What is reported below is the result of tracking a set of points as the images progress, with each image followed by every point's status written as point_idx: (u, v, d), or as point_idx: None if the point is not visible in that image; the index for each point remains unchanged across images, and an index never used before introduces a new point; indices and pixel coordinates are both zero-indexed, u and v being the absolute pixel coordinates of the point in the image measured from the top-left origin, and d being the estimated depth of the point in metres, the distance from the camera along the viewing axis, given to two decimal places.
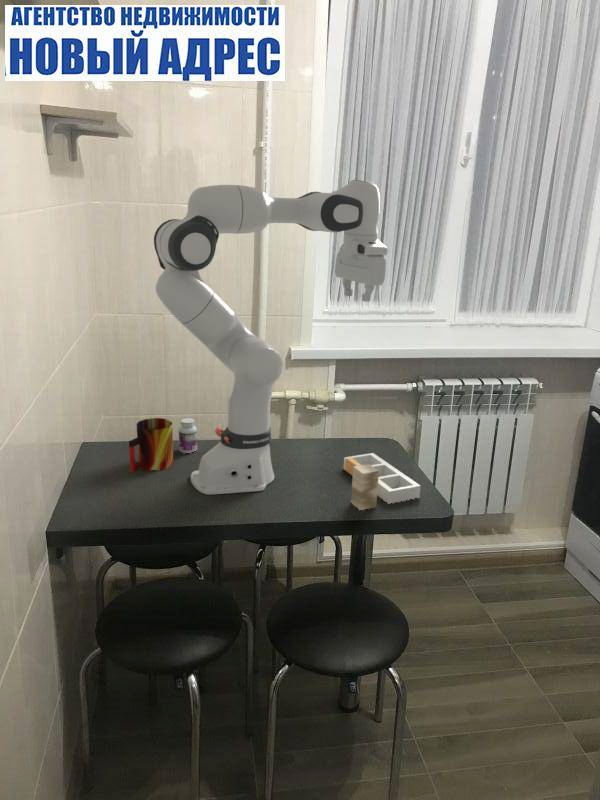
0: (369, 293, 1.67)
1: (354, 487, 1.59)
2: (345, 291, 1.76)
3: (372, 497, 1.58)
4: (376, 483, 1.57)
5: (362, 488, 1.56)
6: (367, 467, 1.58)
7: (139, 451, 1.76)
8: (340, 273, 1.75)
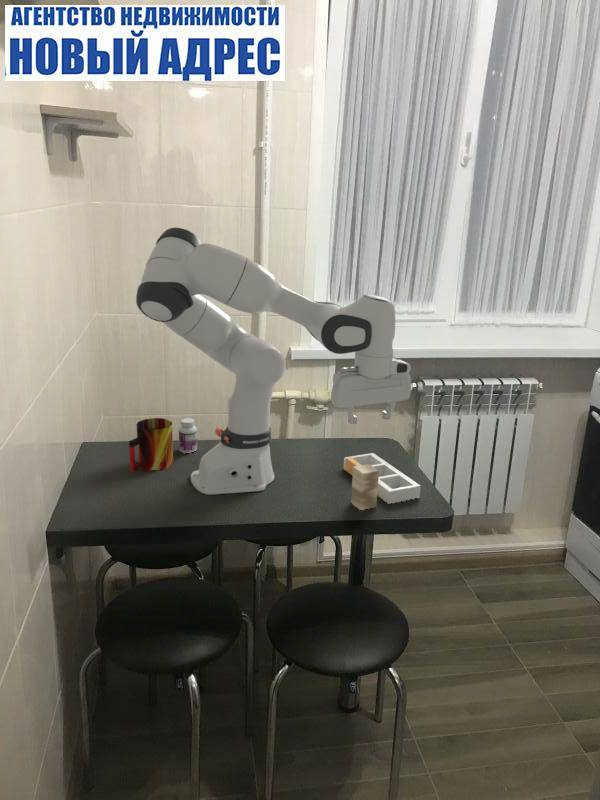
0: None
1: (354, 487, 1.59)
2: (354, 419, 1.51)
3: (372, 497, 1.58)
4: (376, 483, 1.57)
5: (362, 488, 1.56)
6: (367, 467, 1.58)
7: (139, 451, 1.76)
8: (351, 402, 1.48)
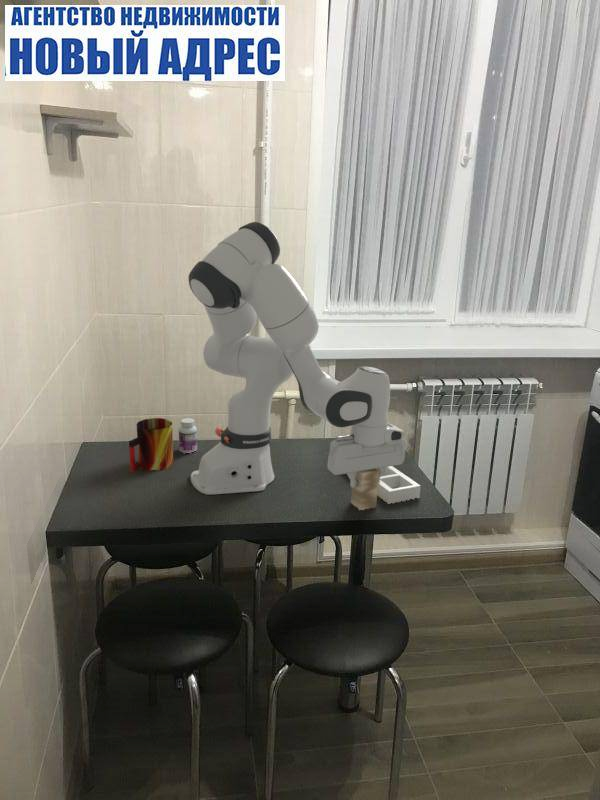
0: None
1: None
2: (356, 483, 1.56)
3: (372, 497, 1.58)
4: (376, 483, 1.57)
5: (362, 488, 1.56)
6: None
7: (139, 451, 1.76)
8: (346, 469, 1.53)
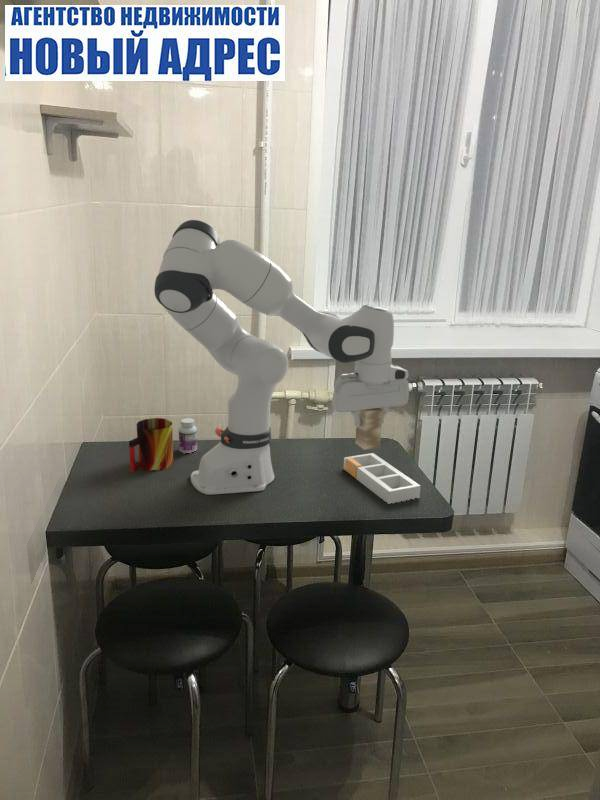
0: None
1: (358, 427, 1.61)
2: (360, 422, 1.59)
3: (376, 437, 1.60)
4: (380, 422, 1.59)
5: (366, 427, 1.58)
6: None
7: (139, 451, 1.76)
8: (351, 406, 1.55)
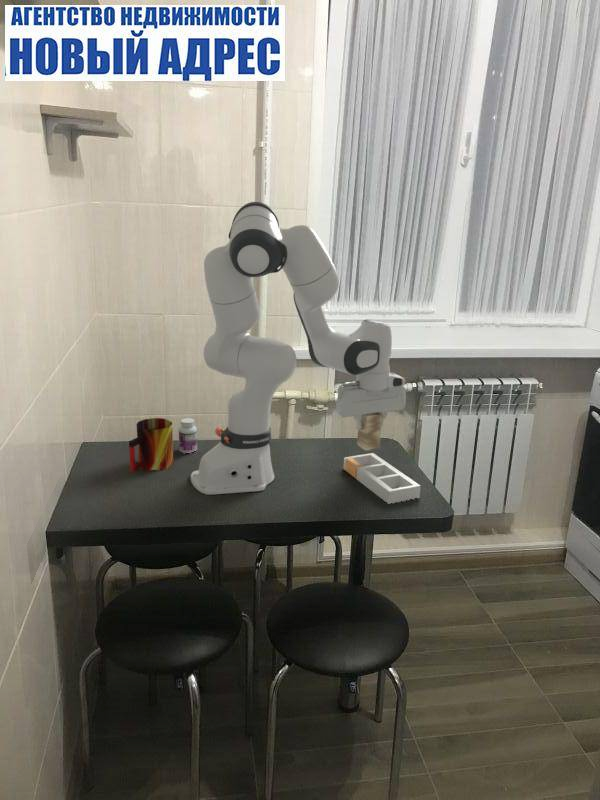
0: None
1: None
2: (361, 426, 1.74)
3: (376, 439, 1.75)
4: (380, 425, 1.75)
5: (367, 430, 1.73)
6: None
7: (139, 451, 1.76)
8: (353, 412, 1.70)
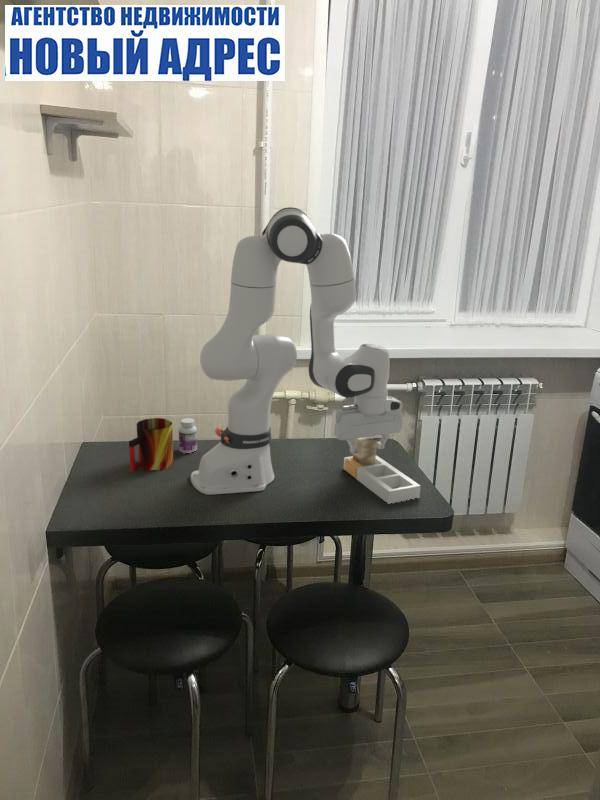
0: None
1: (354, 454, 1.79)
2: (355, 449, 1.75)
3: (370, 464, 1.78)
4: (374, 451, 1.77)
5: (362, 455, 1.76)
6: (366, 437, 1.78)
7: (139, 451, 1.76)
8: (351, 435, 1.72)
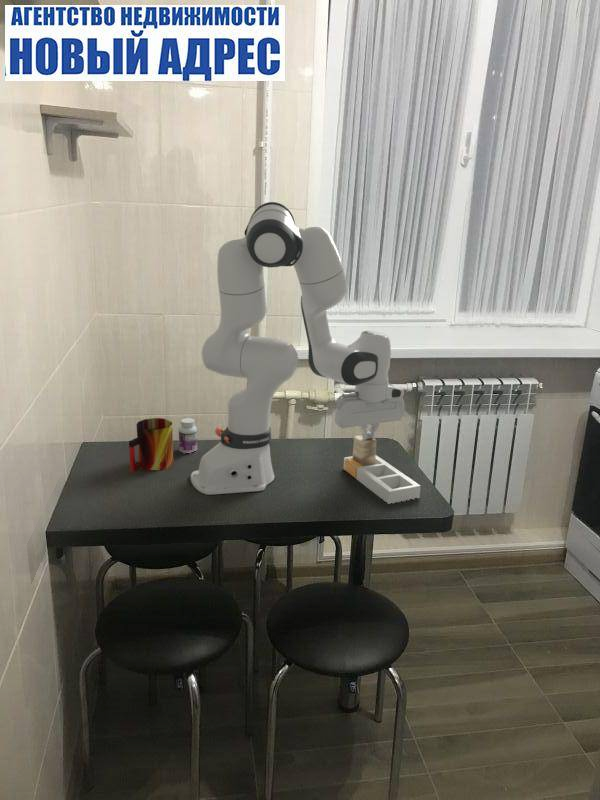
0: None
1: (354, 454, 1.79)
2: (367, 435, 1.75)
3: (370, 464, 1.78)
4: (374, 451, 1.77)
5: (362, 455, 1.76)
6: None
7: (139, 451, 1.76)
8: (352, 422, 1.71)
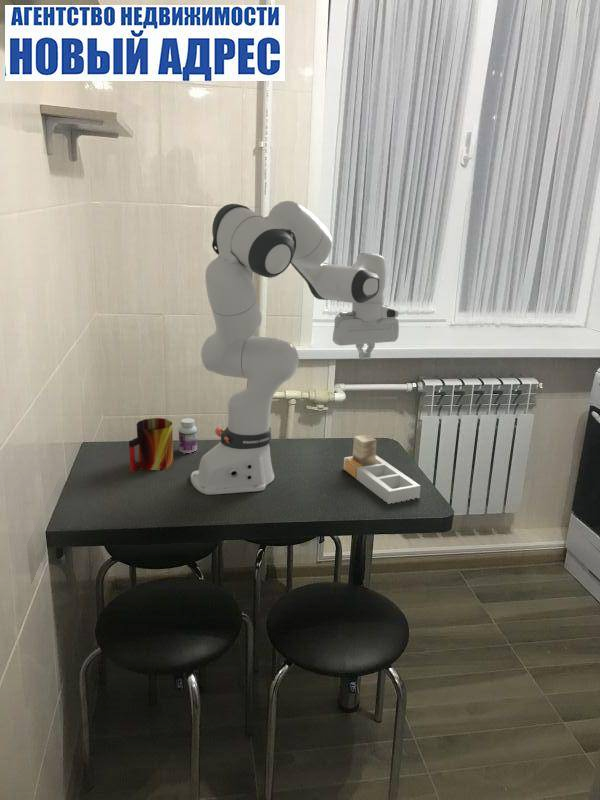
0: None
1: (354, 454, 1.79)
2: (363, 355, 1.85)
3: (370, 464, 1.78)
4: (374, 451, 1.77)
5: (362, 455, 1.76)
6: (366, 437, 1.78)
7: (139, 451, 1.76)
8: (349, 340, 1.80)
